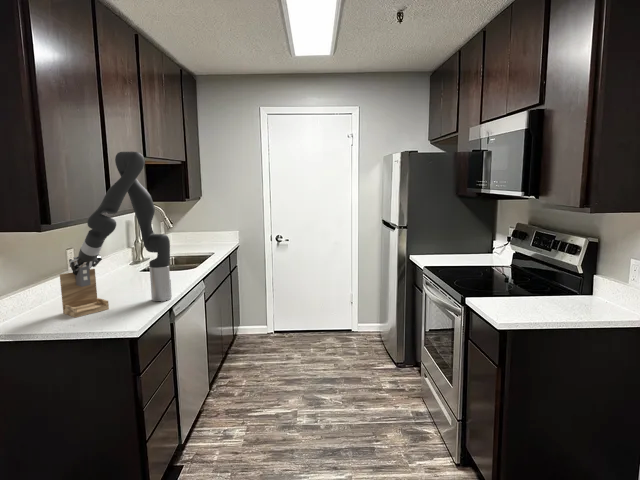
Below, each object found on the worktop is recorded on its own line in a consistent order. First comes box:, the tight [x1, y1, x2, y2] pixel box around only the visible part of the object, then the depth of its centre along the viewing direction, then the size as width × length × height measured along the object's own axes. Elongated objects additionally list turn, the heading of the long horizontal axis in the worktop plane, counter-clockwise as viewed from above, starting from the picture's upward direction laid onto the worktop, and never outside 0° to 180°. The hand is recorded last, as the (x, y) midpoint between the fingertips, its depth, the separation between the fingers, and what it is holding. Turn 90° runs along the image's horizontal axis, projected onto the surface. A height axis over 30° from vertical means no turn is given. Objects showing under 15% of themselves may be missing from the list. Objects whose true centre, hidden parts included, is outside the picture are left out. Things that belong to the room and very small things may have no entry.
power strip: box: [72, 256, 91, 287], centre depth 191 cm, size 5×4×13 cm
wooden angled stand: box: [59, 268, 110, 318], centre depth 191 cm, size 11×15×18 cm
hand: (80, 272), depth 192 cm, fingers closed on power strip, 4 cm apart
